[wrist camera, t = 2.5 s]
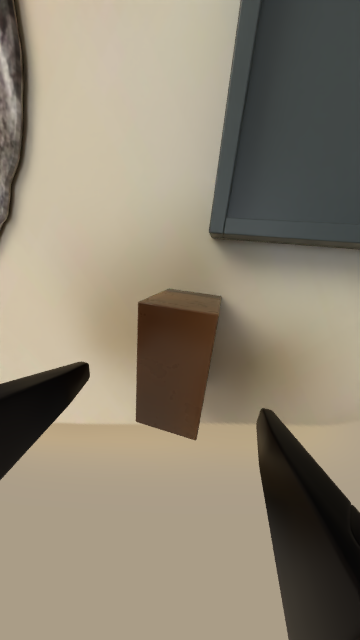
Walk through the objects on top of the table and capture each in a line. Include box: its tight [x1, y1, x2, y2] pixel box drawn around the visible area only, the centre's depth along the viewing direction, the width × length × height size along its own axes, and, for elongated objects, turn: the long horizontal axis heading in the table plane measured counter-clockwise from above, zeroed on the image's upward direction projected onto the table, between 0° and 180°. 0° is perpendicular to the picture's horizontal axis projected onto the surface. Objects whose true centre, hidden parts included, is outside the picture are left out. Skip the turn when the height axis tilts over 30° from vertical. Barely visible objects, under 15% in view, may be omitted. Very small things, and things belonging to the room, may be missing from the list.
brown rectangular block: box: [136, 289, 221, 440], centre depth 12 cm, size 4×8×5 cm, turn 174°
